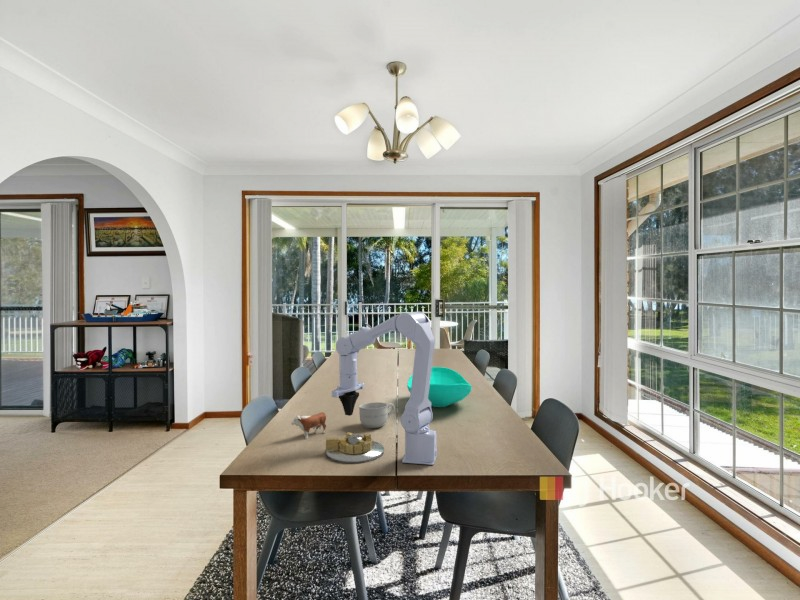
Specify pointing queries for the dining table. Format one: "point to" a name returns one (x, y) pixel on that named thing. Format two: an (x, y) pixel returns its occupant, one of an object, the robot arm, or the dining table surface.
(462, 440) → the dining table surface
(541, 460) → the dining table surface
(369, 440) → the ring nut
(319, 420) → the bull figurine
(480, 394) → the dining table surface
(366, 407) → the teacup
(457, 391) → the table top decor
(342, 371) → the robot arm
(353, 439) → the flange
